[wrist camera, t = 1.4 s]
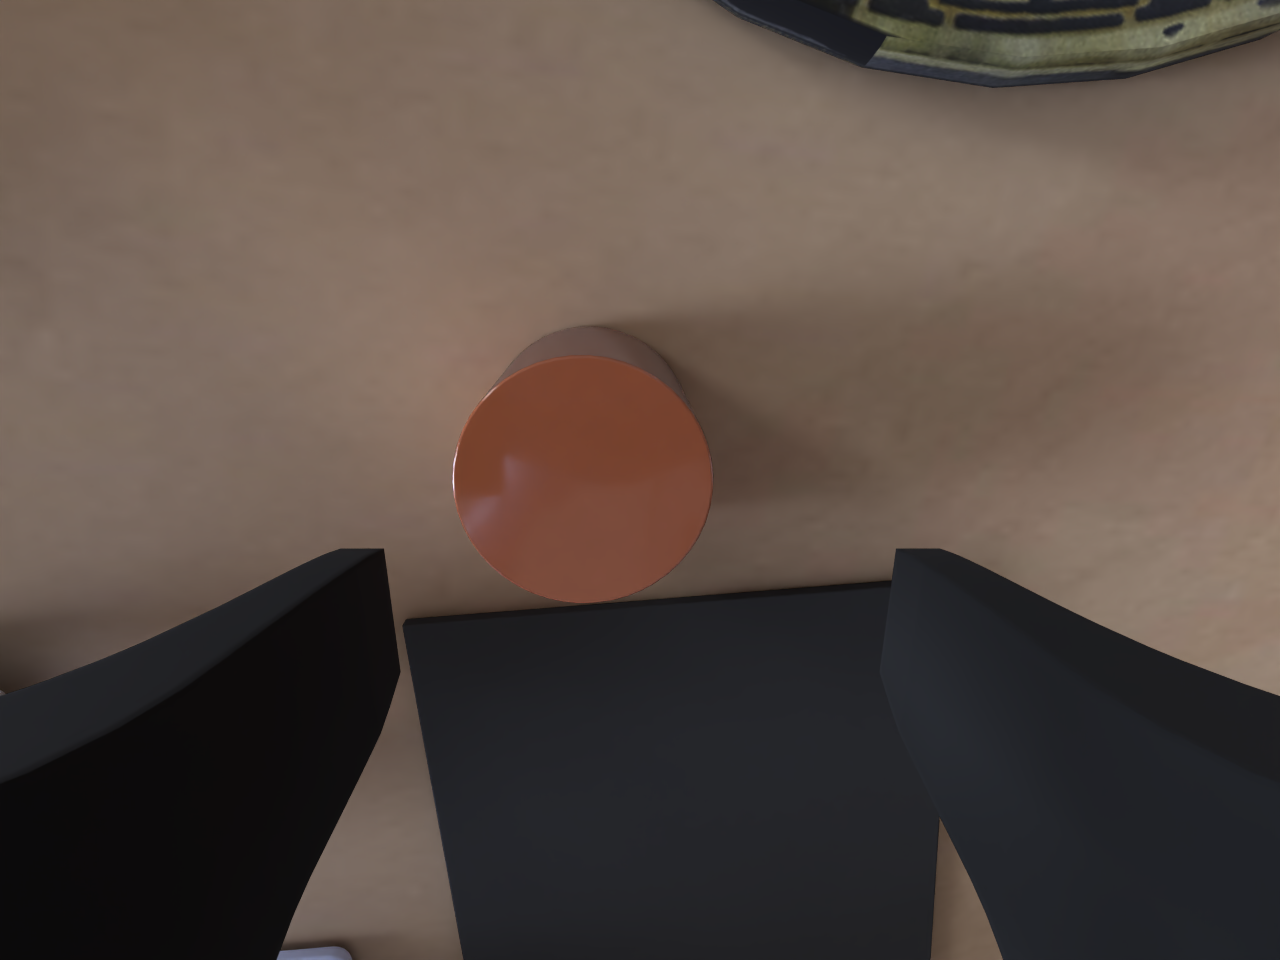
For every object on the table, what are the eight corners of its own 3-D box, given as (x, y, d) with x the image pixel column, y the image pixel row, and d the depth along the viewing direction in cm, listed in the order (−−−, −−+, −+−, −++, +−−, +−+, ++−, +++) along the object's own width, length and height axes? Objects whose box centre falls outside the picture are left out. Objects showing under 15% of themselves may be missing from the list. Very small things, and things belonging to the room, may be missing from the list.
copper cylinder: (504, 524, 20) (470, 613, 15) (478, 333, 18) (433, 365, 14) (692, 510, 20) (718, 594, 15) (683, 318, 18) (708, 345, 14)
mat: (497, 1124, 27) (495, 1137, 26) (405, 618, 21) (401, 625, 20) (917, 1087, 27) (922, 1099, 27) (948, 575, 21) (955, 581, 20)
